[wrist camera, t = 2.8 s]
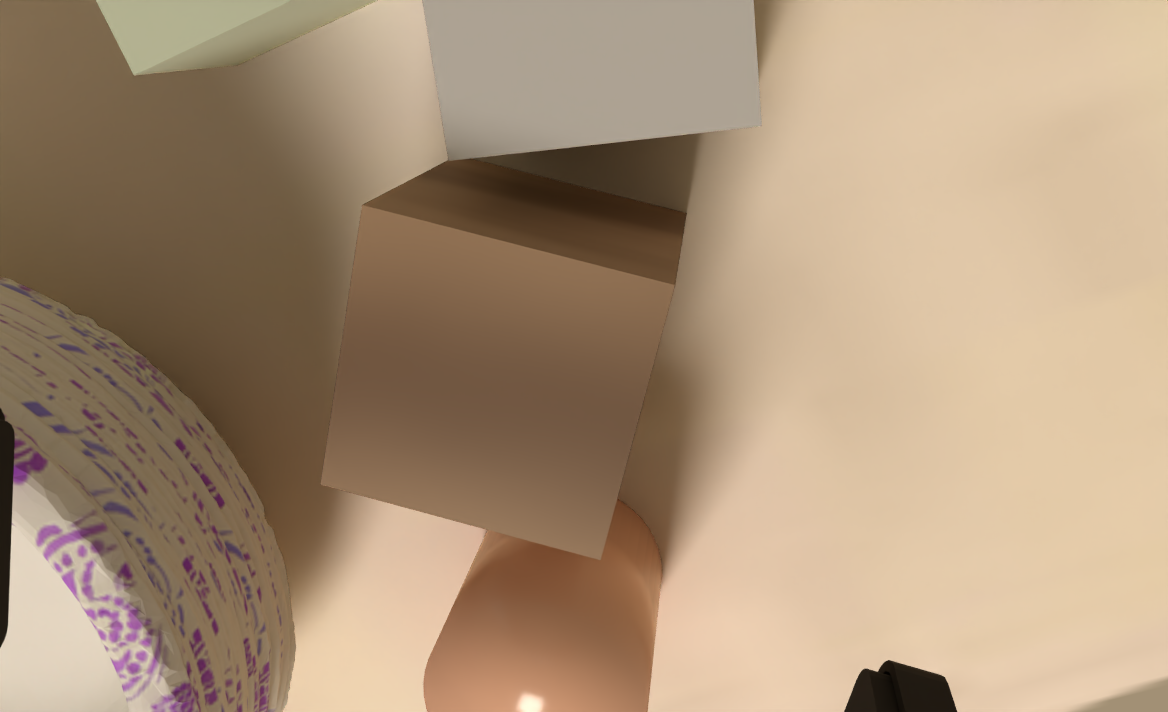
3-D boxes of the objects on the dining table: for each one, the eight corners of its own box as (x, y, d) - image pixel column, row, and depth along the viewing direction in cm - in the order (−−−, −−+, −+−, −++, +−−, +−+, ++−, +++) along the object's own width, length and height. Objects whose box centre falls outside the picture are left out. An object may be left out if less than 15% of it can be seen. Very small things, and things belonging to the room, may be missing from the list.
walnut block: (458, 155, 21) (362, 204, 15) (686, 212, 21) (674, 285, 15) (419, 368, 23) (320, 484, 17) (630, 424, 22) (600, 560, 17)
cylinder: (500, 463, 23) (444, 577, 18) (682, 511, 23) (672, 639, 18) (467, 617, 25) (406, 758, 20) (637, 664, 24) (617, 817, 20)
